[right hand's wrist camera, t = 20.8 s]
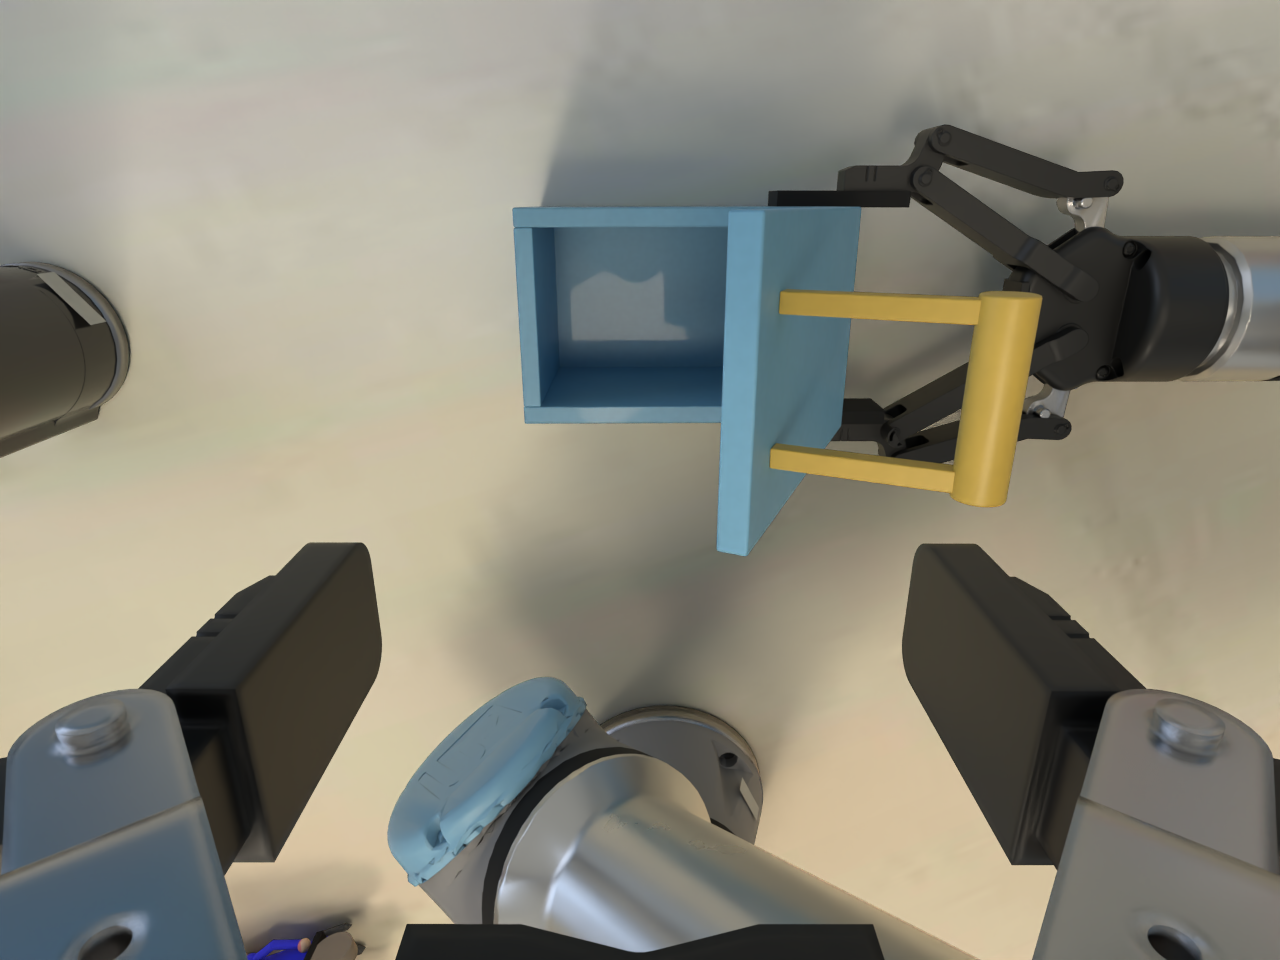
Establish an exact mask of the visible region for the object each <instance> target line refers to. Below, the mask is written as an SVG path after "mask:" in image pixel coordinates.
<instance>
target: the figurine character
mask: <svg viewBox="0 0 1280 960" xmlns="http://www.w3.org/2000/svg"><path fill="white" fill-rule="evenodd" d="M351 926H352V925H351V924H346V923H345V924H342V925H339V926H336V927H333V928H330V929H327V930H324V931H320V932H317V933H316V935H315V937H314V939H313V941H310V940H309V939H308V938H303V939H295V940H272V941H271V942H270V943H269V944H267V945H266V946H265V947H264V948H262V949H261V950H260V951H259V952H257V953H250V954H247V953H246V955H247V959H248V960H355V958H356V956H357V955H360V954H362V952H363V951H364V949H365V948H366V947H364V946H362V945H356V943H355V942H354V940H353V938H352V936H351V935H350V934H349V933H347V932H343V931H345V930H348V929H349V928H350V927H351ZM273 950H284V951H281V952H278V953H275V954H273V955H270V956H267V955H268V954H269V953H271V952H272V951H273ZM266 956H267V957H266Z"/></svg>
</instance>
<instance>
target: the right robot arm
mask: <svg viewBox="0 0 1280 960" xmlns="http://www.w3.org/2000/svg"><path fill="white" fill-rule="evenodd" d="M128 364H129V349H128V342H127V338H126V334H125V332H124V329H123V326H122V324H121V322H120V320H119V318H118V316H117V314H116V313H115V311H114V310H113V308H112V307H111V305H110V304H109V303H108V301H107V300H106V299H105V298H104V297H103V296H102V295H101V293H100V292H98V291H97V290H96V289H95V288H94V287H93V286H92V285H90V284H89V283H88V282H87V281H85V280H84V279H82V278H81V277H79V276H77V275H76V274H74V273H72V272H70V271H68V270H66V269H63V268H60V267H58V266H54V265H51V264H46V263H39V262H23V263H13V264H5V265H1V266H0V458H1V457H4V456H6V455H9V454H11V453H14V452H16V451H19V450H21V449H24V448H26V447H29V446H31V445H34V444H36V443H39V442H41V441H44V440H46V439H49V438H51V437H54V436H56V435H59V434H61V433H64V432H66V431H69V430H71V429H74V428H76V427H79V426H81V425H84V424H86V423H89V422H91V421H94V420H96V419H97V418H98V410H99V407H100V405H102V404H104V403H105V402H107V401H108V400H110V399H111V398H112V397H113V396H114V395H115V394H116V393H117V392H118V390H119V389H120V387H121V386H122V384H123V382H124V380H125V377H126V374H127V370H128ZM1070 617H1071V616H1070V615H1069V614H1068V613H1067V612H1066V611H1065V610H1064V609H1063V608H1062V607H1061V606H1060V605H1059V604H1058V603H1057V602H1056V601H1055V600H1053V599H1052V598H1051V597H1050V596H1049V595H1048V594H1046V593H1044V592H1042V591H1041V590H1039V589H1037V588H1035V587H1033V586H1031V585H1029V584H1028V583H1026V582H1024V581H1022V580H1020V579H1018V578H1016V577H1009V576H1008V575H1007V574H1006V573H1005V572H1004V571H1003V570H1002V569H1001V568H1000V567H999V566H998V565H997V564H996V563H995V562H994V561H993V560H992V559H991V558H990V557H989V556H988V555H987V554H986V553H985V552H984V551H983V550H982V548H981V547H979V546H978V545H976V544H921V545H920V546H919V547H918V549H917V551H916V553H915V556H914V561H913V567H912V574H911V581H910V588H909V595H908V602H907V609H906V616H905V624H904V631H903V639H902V655H903V663H904V668H905V672H906V675H907V678H908V681H909V683H910V684H911V686H912V688H913V690H914V692H915V693H916V695H917V697H918V699H919V701H920V702H921V704H922V706H923V708H924V709H925V711H926V713H927V715H928V717H929V718H930V720H931V722H932V724H933V726H934V727H935V729H936V731H937V733H938V734H939V736H940V738H941V740H942V742H943V743H944V745H945V747H946V749H947V750H948V752H949V754H950V756H951V758H952V759H953V761H954V763H955V765H956V767H957V768H958V770H959V772H960V774H961V775H962V777H963V779H964V781H965V783H966V784H967V786H968V788H969V790H970V791H971V793H972V795H973V797H974V799H975V800H976V802H977V804H978V806H979V808H980V809H981V811H982V813H983V815H984V816H985V818H986V820H987V822H988V824H989V825H990V827H991V829H992V831H993V832H994V834H995V836H996V838H997V840H998V841H999V843H1000V845H1001V847H1002V849H1003V850H1004V852H1005V854H1006V856H1007V857H1008V859H1009V861H1010V863H1011V865H1054V866H1055V868H1056V869H1057V874H1056V877H1055V881H1054V884H1053V888H1052V892H1051V895H1050V899H1049V902H1048V906H1047V909H1046V913H1045V916H1044V920H1043V923H1042V927H1041V930H1040V934H1039V937H1038V941H1037V944H1036V948H1035V951H1034V955H1033V959H1032V960H1280V760H1279V759H1274V758H1273V757H1272V753H1271V751H1270V749H1269V747H1268V745H1267V744H1266V743H1265V742H1264V740H1263V739H1262V738H1261V737H1260V736H1259V735H1258V734H1257V733H1256V732H1255V731H1254V730H1252V729H1251V728H1250V727H1249V726H1247V725H1246V724H1244V723H1243V722H1242V721H1240V720H1239V719H1237V718H1235V717H1234V716H1232V715H1230V714H1229V713H1227V712H1225V711H1223V710H1221V709H1219V708H1217V707H1214V706H1212V705H1210V704H1207V703H1205V702H1203V701H1200V700H1197V699H1194V698H1191V697H1188V696H1184V695H1181V694H1177V693H1172V692H1167V691H1162V690H1154V689H1146V688H1145V687H1144V686H1143V685H1142V684H1141V683H1140V682H1139V681H1138V680H1137V679H1136V678H1135V677H1134V676H1133V675H1132V674H1130V673H1129V672H1128V671H1127V670H1126V669H1125V668H1124V667H1123V666H1122V665H1121V664H1120V663H1119V662H1118V661H1117V660H1116V659H1115V658H1114V657H1113V656H1112V655H1111V654H1110V653H1109V652H1108V651H1107V650H1106V649H1104V648H1103V647H1102V646H1101V645H1100V644H1099V643H1098V642H1097V641H1096V640H1095V639H1094V638H1089V633H1088V632H1087V631H1086V630H1085V629H1084V628H1083V627H1082V626H1081V625H1080V624H1078V623H1077V622H1076V621H1075V620H1071V618H1070ZM381 653H382V638H381V629H380V622H379V615H378V608H377V601H376V593H375V586H374V579H373V572H372V565H371V559H370V555H369V551H368V549H367V547H366V546H365V545H364V544H363V543H308V544H306V545H305V546H304V547H303V548H302V549H301V550H300V551H299V552H298V553H297V554H296V555H295V556H294V557H293V558H292V559H291V560H290V561H289V562H288V563H287V564H286V565H285V566H284V567H283V568H282V570H281V571H280V572H279V573H278V574H277V575H276V576H268V577H266V578H264V579H262V580H260V581H259V582H257V583H255V584H253V585H251V586H249V587H247V588H246V589H244V590H242V591H240V592H238V593H236V594H235V595H234V596H233V597H232V598H231V599H230V600H229V601H228V602H227V603H226V604H225V605H224V606H223V607H222V608H221V609H220V610H219V611H218V612H217V613H216V614H215V618H214V619H210V620H209V621H208V622H207V623H205V624H204V625H203V626H202V627H201V628H200V629H199V630H198V631H197V636H196V637H191V638H190V639H189V640H188V641H187V642H186V643H185V644H184V645H183V646H182V647H181V648H180V649H179V650H178V651H177V652H176V653H175V654H174V655H172V656H171V657H170V658H169V659H168V660H167V661H166V662H165V663H164V664H163V665H162V666H161V667H160V668H159V669H158V670H157V671H156V672H155V673H154V674H153V675H152V676H151V677H150V678H149V679H148V680H147V681H146V682H145V683H144V684H143V685H142V686H141V687H139V688H138V689H126V690H118V691H113V692H108V693H103V694H99V695H96V696H92V697H89V698H86V699H83V700H80V701H77V702H75V703H73V704H70V705H68V706H66V707H63V708H61V709H59V710H57V711H55V712H53V713H51V714H50V715H48V716H46V717H45V718H43V719H41V720H40V721H38V722H37V723H36V724H34V725H33V726H31V727H30V728H29V729H28V730H26V731H25V732H24V733H23V734H22V735H21V736H20V737H19V738H18V739H17V740H16V742H15V743H14V744H13V745H12V747H11V749H10V751H9V753H8V756H7V757H6V758H1V759H0V960H248V959H247V955H246V951H245V948H244V944H243V941H242V937H241V934H240V930H239V927H238V923H237V920H236V916H235V913H234V909H233V906H232V902H231V899H230V895H229V892H228V888H227V884H226V881H225V877H224V876H225V874H226V872H227V871H228V869H229V867H230V866H231V864H232V863H233V862H275V860H276V858H277V856H278V855H279V853H280V851H281V849H282V847H283V846H284V844H285V842H286V840H287V838H288V837H289V835H290V833H291V831H292V829H293V828H294V826H295V824H296V822H297V820H298V819H299V817H300V815H301V813H302V811H303V810H304V808H305V806H306V804H307V802H308V801H309V799H310V797H311V795H312V793H313V791H314V790H315V788H316V786H317V784H318V782H319V781H320V779H321V777H322V775H323V773H324V772H325V770H326V768H327V766H328V764H329V763H330V761H331V759H332V757H333V755H334V754H335V752H336V750H337V748H338V746H339V745H340V743H341V741H342V739H343V737H344V736H345V734H346V732H347V730H348V728H349V727H350V725H351V723H352V721H353V719H354V717H355V716H356V714H357V712H358V710H359V708H360V707H361V705H362V703H363V701H364V699H365V698H366V696H367V694H368V692H369V690H370V689H371V687H372V685H373V683H374V681H375V679H376V677H377V674H378V671H379V667H380V661H381ZM395 960H885V959H884V956H883V953H882V950H881V947H880V944H879V941H878V938H877V935H876V931H875V928H874V925H873V924H757V925H753V926H749V927H745V928H741V929H737V930H733V931H729V932H725V933H721V934H717V935H713V936H709V937H705V938H702V939H698V940H694V941H690V942H686V943H682V944H678V945H674V946H670V947H666V948H662V949H658V950H654V951H648V952H632V951H626V950H622V949H618V948H614V947H610V946H606V945H602V944H598V943H594V942H590V941H586V940H582V939H578V938H575V937H571V936H567V935H563V934H559V933H555V932H551V931H547V930H543V929H539V928H535V927H531V926H527V925H523V924H407V925H406V928H405V931H404V935H403V938H402V941H401V944H400V947H399V950H398V953H397V956H396V959H395Z"/></svg>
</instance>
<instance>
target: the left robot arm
mask: <svg viewBox="0 0 1280 960" xmlns="http://www.w3.org/2000/svg"><path fill="white" fill-rule="evenodd" d="M914 144H915V147H914V149H913V151H912V154H911V156H910V158H909V159H908V160H907V162H906V163H904V164H903V165H901V166H851V167H847V168H845V169H842V170H840V171H838V182H837V191H769V197H768V206H773V207H807V206H838V207H909V205H910V197H911V198H912V199H914V200H915V201H917V202H918V203H919V204H921V205H922V206H924V207H925V208H927V209H928V210H929V211H931V212H932V213H934V214H935V215H937V216H938V217H939V218H941V219H942V220H944V221H945V222H947V223H948V224H949V225H951V226H952V227H954V228H955V229H957V230H958V231H959V232H961V233H962V234H964V235H965V236H967V237H968V238H969V239H971V240H972V241H974V242H975V243H977V244H978V245H979V246H981V247H982V248H984V249H985V250H986V251H988V252H989V253H991V254H992V255H993V257H994V258H995V259H996V260H998V261H999V262H1000V263H1002V264H1003V265H1005V266H1006V267H1008V268H1009V269H1010V270H1012V271H1013V272H1012V273H1011V275H1010V277H1009V279H1004V285H1003V291H1015V292H1028V293H1035V294H1039V295H1041V296H1042V304H1041V309H1040V315H1039V320H1038V326H1037V332H1036V337H1035V343H1034V348H1033V354H1032V359H1031V365H1030V371H1029V376H1031V375H1033V376H1034V377H1036V378H1037V379H1038V380H1039V381H1041V382H1042V383H1043V384H1044V387H1043V389H1042V391H1041V392H1040V393H1039V394H1037V395H1035V396H1031V397H1027V398H1025V399H1024V404H1023V410H1022V415H1021V421H1020V426H1019V432H1018V437H1017V441H1021V440H1024V439H1049V440H1060V439H1064V438H1065V437H1067V436H1068V435H1069V434H1070V431H1071V423H1070V422H1069V421H1068V420H1067V419H1065V418H1063V417H1064V413H1065V409H1066V405H1067V401H1068V397H1069V393H1070V390H1073V389H1075V388H1078V387H1079V386H1081V385H1084V384H1086V383H1090V382H1097V381H1101V382H1166V381H1173V380H1180V381H1280V236H1211V237H1202V238H1200V239H1199V238H1197V237H1191V236H1117V235H1115V234H1113V233H1112V232H1110V231H1109V230H1107V229H1105V228H1104V224H1105V218H1106V212H1107V206H1108V200H1109V197H1111V196H1114V195H1115V194H1117V193H1118V192H1119V191H1120V190H1121V188H1122V186H1123V177H1122V174H1121V173H1119V172H1118V171H1091V172H1077V171H1074V170H1071V169H1069V168H1066V167H1063V166H1060V165H1058V164H1055V163H1052V162H1049V161H1047V160H1044V159H1041V158H1038V157H1036V156H1033V155H1030V154H1027V153H1025V152H1022V151H1019V150H1016V149H1014V148H1011V147H1008V146H1005V145H1003V144H1000V143H997V142H995V141H992V140H989V139H986V138H984V137H981V136H978V135H975V134H973V133H970V132H967V131H964V130H962V129H959V128H956V127H953V126H951V125H941V126H937V127H933V128H929V129H926V130H922V131H921V132H920V133H918V135H917V136H916V138H915V142H914ZM943 162H944V163H947V164H949V165H952V166H955V167H958V168H961V169H963V170H966V171H969V172H972V173H974V174H977V175H980V176H983V177H986V178H988V179H991V180H994V181H997V182H1000V183H1002V184H1005V185H1008V186H1011V187H1013V188H1016V189H1019V190H1022V191H1025V192H1027V193H1030V194H1033V195H1036V196H1040V197H1046V198H1058V200H1057V202H1056V203H1057V207H1058V209H1059V211H1060V212H1061V213H1063V214H1066V215H1069V216H1071V217H1072V218H1073V219H1074V222H1075V228H1074V229H1072V230H1070V231H1068V232H1067V233H1065V234H1064V235H1062V236H1061V237H1059V238H1058V239H1056V240H1055V241H1053V242H1052V243H1050V244H1049V245H1045V244H1044V243H1042V242H1041V241H1039V240H1037V239H1034V238H1032V237H1030V236H1028V235H1027V234H1025V233H1024V232H1023V231H1021V230H1020V229H1018V228H1017V227H1016V226H1014V225H1013V224H1011V223H1010V222H1009V221H1007V220H1006V219H1004V218H1003V217H1002V216H1000V215H999V214H997V213H996V212H995V211H993V210H992V209H991V208H989V207H988V206H986V205H985V204H984V203H982V202H981V201H979V200H978V199H977V198H975V197H974V196H972V195H971V194H970V193H968V192H967V191H965V190H964V189H963V188H961V187H960V186H958V185H957V184H956V183H954V182H953V181H951V180H950V179H949V178H947V177H946V176H944V175H943V174H942V173H940V172H939V169H940V167H941V165H942V163H943ZM968 364H969V362H967V363H966V364H964V365H962V366H960V367H958V368H956V369H955V370H953V371H951V372H949V373H947V374H946V375H944V376H942V377H940V378H938V379H937V380H935V381H933V382H931V383H929V384H927V385H926V386H924V387H922V388H920V389H918V390H917V391H915V392H913V393H911V394H909V395H907V396H906V397H904V398H902V399H900V400H898V401H897V402H895V403H893V404H891V405H889V406H887V407H886V408H884V409H882V408H881V407H880V406H879V405H878V404H876V403H875V402H874V401H873V400H872V399H843V410H842V421H841V427H840V428H839V429H838V431H837V432H836V434H835V435H834V436H833V438H832V439H831V441H876V442H877V444H878V448H879V449H878V454H879V456H884V457H892V458H900V459H908V460H916V461H925V462H933V463H944V462H947V461H951V460H954V457H955V450H956V443H957V437H958V430H959V424H960V420H958V421H955V422H951V423H948V424H944V425H941V426H938V427H934V428H931V429H927V430H924V431H920V430H922V429H924V428H926V427H928V426H930V425H931V424H933V423H935V422H937V421H939V420H941V419H943V418H944V417H946V416H948V415H950V414H952V413H954V412H956V411H957V410H959V409H961V408H962V404H963V397H964V390H965V384H966V377H967V370H968ZM1029 376H1028V377H1029ZM918 431H920V432H918ZM586 706H587V704H586V702H585V701H584V699H583V698H582V697H577V696H576V695H575V694H574V693H573V692H572V690H571V689H570V688H569V687H568V686H567V685H566V684H565V683H564V682H562V681H561V680H559V679H556V678H552V677H540V678H534V679H530V680H527V681H524V682H522V683H520V684H517V685H515V686H513V687H511V688H509V689H508V690H506V691H504V692H502V693H501V694H499V695H498V696H497V697H495V698H493V699H491V700H490V701H489V702H487V703H486V704H484V705H483V706H482V707H480V708H479V709H478V710H476V711H475V712H474V713H473V714H472V715H470V716H469V717H468V718H467V719H466V720H464V721H463V722H462V723H461V724H460V725H459V726H458V727H456V728H455V729H454V730H453V731H452V732H451V733H450V734H449V735H448V736H447V737H446V738H445V739H444V740H443V741H442V742H441V743H440V744H439V745H438V746H437V747H436V748H435V749H434V751H433V752H432V753H431V754H430V755H429V756H428V757H427V759H426V760H425V761H424V762H423V763H422V765H421V766H420V767H419V768H418V770H417V771H416V772H415V774H414V775H413V776H412V778H411V779H410V781H409V782H408V784H407V786H406V788H405V789H404V791H403V792H402V793H401V795H400V797H399V799H398V801H397V803H396V805H395V807H394V810H393V812H392V815H391V818H390V821H389V825H388V845H389V848H390V850H391V853H392V855H393V856H394V857H395V859H396V860H397V861H398V862H399V864H400V865H401V866H402V867H403V869H404V870H405V871H406V872H407V873H408V882H409V883H411V884H412V885H414V887H415V886H417V885H419V886H420V887H421V888H422V889H423V890H424V891H425V892H426V893H427V895H428V896H429V897H430V898H431V899H432V900H433V901H434V902H435V903H436V904H437V905H438V906H439V907H440V908H441V909H442V910H443V911H444V913H445V914H446V915H447V916H448V917H449V918H450V919H451V920H452V921H453V922H454V924H523V925H527V926H531V927H535V928H539V929H543V930H547V931H551V932H555V933H559V934H563V935H567V936H571V937H575V938H578V939H582V940H586V941H590V942H594V943H598V944H602V945H606V946H610V947H614V948H618V949H622V950H626V951H632V952H648V951H654V950H658V949H662V948H666V947H670V946H674V945H678V944H682V943H686V942H690V941H694V940H698V939H702V938H705V937H709V936H713V935H717V934H721V933H725V932H729V931H733V930H737V929H741V928H745V927H749V926H753V925H757V924H873V925H874V928H875V931H876V935H877V938H878V941H879V944H880V947H881V950H882V953H883V956H884V959H885V960H980V959H978V958H976V957H974V956H972V955H970V954H968V953H966V952H964V951H962V950H960V949H958V948H956V947H954V946H952V945H950V944H948V943H946V942H944V941H942V940H940V939H938V938H937V937H935V936H933V935H931V934H929V933H927V932H925V931H923V930H921V929H919V928H917V927H915V926H913V925H911V924H909V923H907V922H905V921H903V920H901V919H899V918H897V917H895V916H893V915H891V914H889V913H887V912H885V911H883V910H881V909H879V908H877V907H875V906H873V905H871V904H869V903H867V902H866V901H864V900H862V899H860V898H858V897H856V896H854V895H852V894H850V893H848V892H846V891H844V890H842V889H840V888H838V887H836V886H834V885H832V884H830V883H828V882H826V881H824V880H822V879H820V878H818V877H816V876H814V875H812V874H810V873H808V872H806V871H804V870H802V869H800V868H798V867H796V866H794V865H793V864H791V863H789V862H787V861H785V860H783V859H781V858H779V857H777V856H775V855H773V854H771V853H769V852H767V851H765V850H763V849H761V848H759V847H757V846H755V845H754V843H755V839H756V834H757V829H758V825H759V820H760V816H761V810H762V803H763V790H762V783H761V779H760V774H759V769H758V765H757V762H756V759H755V757H754V754H753V752H752V751H751V749H750V747H749V746H748V744H747V743H746V741H745V740H744V739H743V738H742V737H741V736H740V735H739V734H738V733H737V732H736V731H735V730H734V729H733V728H731V727H730V726H729V725H728V724H726V723H724V722H723V721H721V720H720V719H718V718H716V717H714V716H712V715H709V714H707V713H704V712H701V711H698V710H695V709H690V708H685V707H678V706H651V707H644V708H639V709H635V710H631V711H628V712H625V713H623V714H620V715H618V716H615V717H613V718H611V719H609V720H608V721H606V722H605V723H603V724H601V725H599V724H598V723H597V722H596V721H595V720H594V718H593V717H592V716H591V714H590V713H589V712H588V711H587V709H586Z"/></svg>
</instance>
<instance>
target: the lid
mask: <svg viewBox="0 0 1280 960" xmlns="http://www.w3.org/2000/svg"><path fill="white" fill-rule="evenodd" d="M860 218H861V207H810V208H773V209H737V210H730V211H729V215H728V243H727V271H726V298H725V326H724V354H723V382H722V410H721V438H720V465H719V493H718V521H717V551H719V552H725V553H730V554H735V555H741V556H748V554H749V553H750V551H751V550H752V549H753V547H754V546H755V544H756V543H757V542H758V540H759V539H760V538H761V536H762V535H763V533H764V532H765V531H766V529H767V528H768V526H769V525H770V524H771V522H772V521H773V520H774V518H775V517H776V515H777V514H778V513H779V511H780V510H781V508H782V507H783V506H784V504H785V503H786V502H787V500H788V499H789V497H790V496H791V495H792V493H793V492H794V490H795V489H796V488H797V486H798V485H799V483H800V482H801V481H802V479H803V478H804V477H805V475H806V474H807V473H808V474H816V475H823V476H830V477H837V478H845V479H852V480H859V481H866V482H874V483H881V484H888V485H896V486H903V487H910V488H917V489H925V490H932V491H939V492H946V493H949V494H950V496H951V497H952V498H953V499H954V500H956V501H958V502H961V503H964V504H967V505H971V506H977V507H997V506H1001V505H1003V504H1004V503H1005V502H1006V499H1007V493H1008V488H1009V482H1010V476H1011V471H1012V465H1013V460H1014V454H1015V449H1016V443H1017V437H1018V432H1019V426H1020V421H1021V415H1022V410H1023V404H1024V398H1025V393H1026V387H1027V382H1028V376H1029V371H1030V365H1031V359H1032V354H1033V348H1034V343H1035V337H1036V332H1037V326H1038V320H1039V315H1040V309H1041V304H1042V296H1041V295H1039V294H1035V293H1028V292H1015V291H987V292H982V293H980V294H979V297H965V296H941V295H918V294H894V293H870V292H854V282H855V271H856V261H857V250H858V239H859V229H860ZM851 318H856V319H874V320H892V321H910V322H928V323H946V324H964V325H974V331H973V337H972V344H971V350H970V357H969V364H968V370H967V377H966V384H965V390H964V397H963V404H962V410H961V417H960V424H959V430H958V437H957V443H956V450H955V457H954V463H953V465H949V464H941V463H933V462H925V461H916V460H908V459H900V458H892V457H884V456H876V455H868V454H860V453H852V452H844V451H836V450H828V449H825V447H826V446H827V445H828V443H829V442H830V441H831V439H832V438H833V436H834V435H835V434H836V432H837V431H838V429H839V428H840V427H841V421H842V410H843V399H844V389H845V378H846V367H847V357H848V346H849V335H850V325H851Z"/></svg>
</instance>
